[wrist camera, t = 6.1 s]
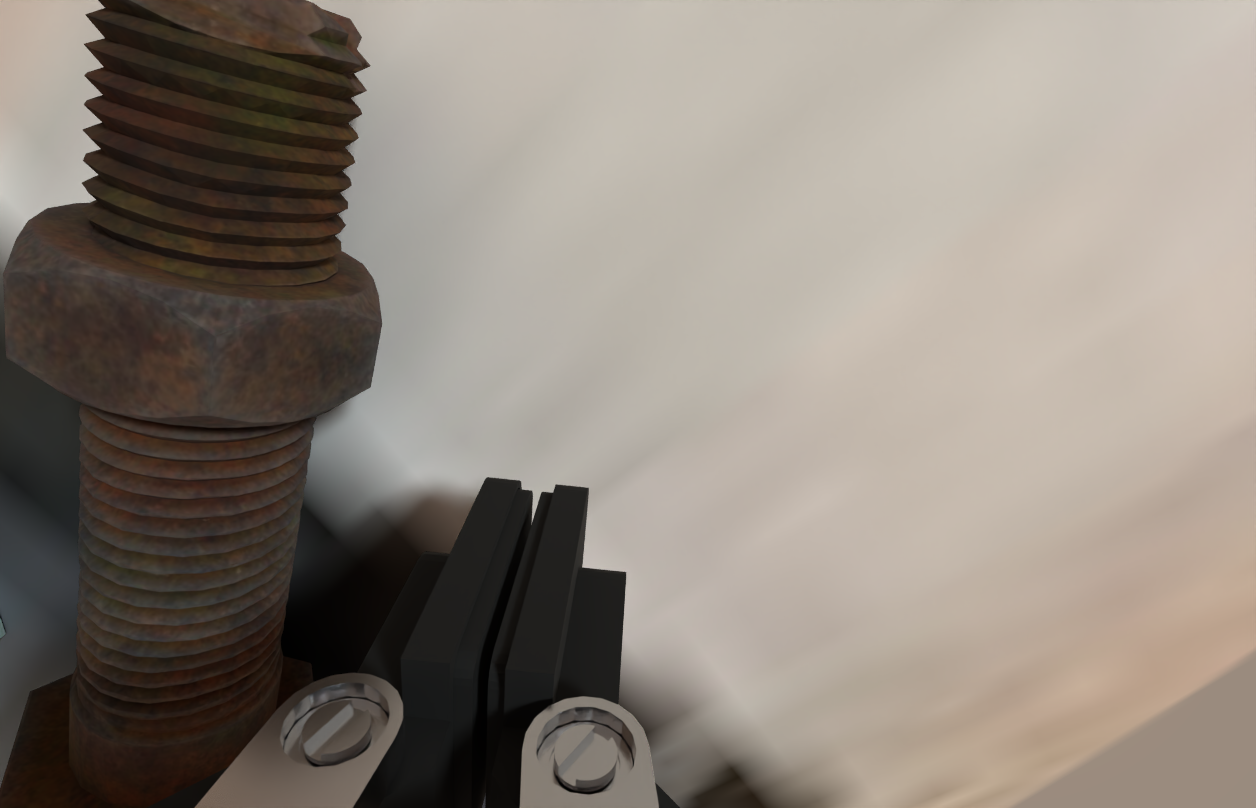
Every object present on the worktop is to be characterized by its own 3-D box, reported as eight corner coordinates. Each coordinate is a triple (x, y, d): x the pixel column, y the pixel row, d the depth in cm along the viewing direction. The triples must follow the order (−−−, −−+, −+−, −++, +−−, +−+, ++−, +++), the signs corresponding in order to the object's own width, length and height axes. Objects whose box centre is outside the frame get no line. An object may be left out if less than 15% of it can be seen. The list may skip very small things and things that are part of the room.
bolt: (402, 44, 12) (298, 659, 17) (40, -86, 9) (46, 689, 15) (497, 63, 8) (319, 882, 13) (-139, -174, 5) (-37, 986, 10)
